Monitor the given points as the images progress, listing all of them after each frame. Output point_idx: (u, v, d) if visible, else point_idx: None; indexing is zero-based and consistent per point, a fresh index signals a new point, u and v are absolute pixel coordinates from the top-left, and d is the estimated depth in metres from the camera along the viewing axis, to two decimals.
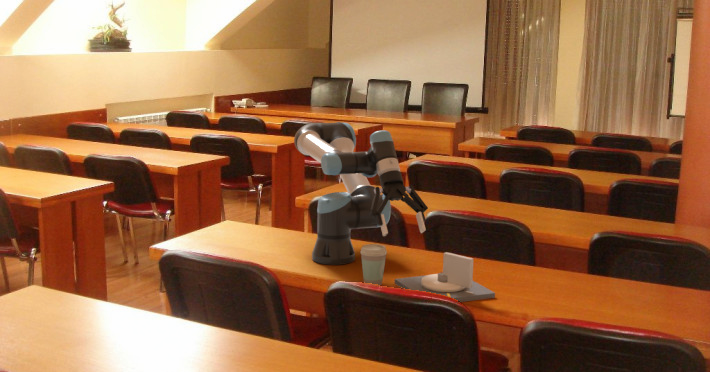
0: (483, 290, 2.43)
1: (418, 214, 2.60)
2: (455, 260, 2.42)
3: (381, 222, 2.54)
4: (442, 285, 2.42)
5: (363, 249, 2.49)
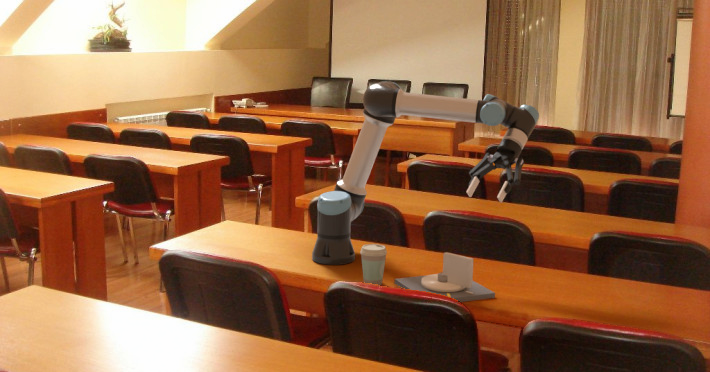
0: (483, 290, 2.43)
1: (477, 181, 2.61)
2: (455, 260, 2.42)
3: None
4: (442, 285, 2.42)
5: (363, 249, 2.49)
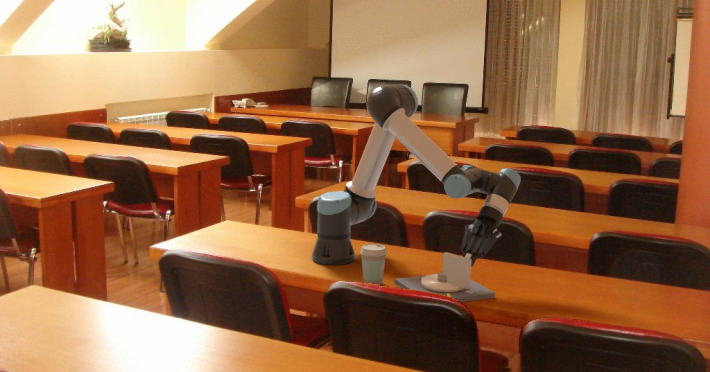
0: (483, 290, 2.43)
1: None
2: (454, 261, 2.41)
3: None
4: (440, 285, 2.42)
5: (363, 249, 2.49)
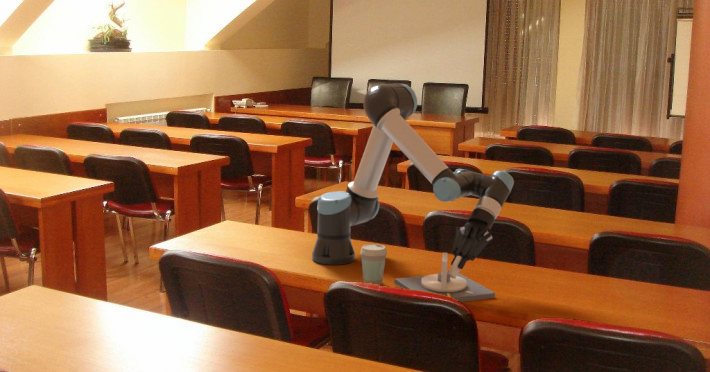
0: (483, 290, 2.43)
1: None
2: None
3: None
4: (429, 282, 2.45)
5: (363, 249, 2.49)
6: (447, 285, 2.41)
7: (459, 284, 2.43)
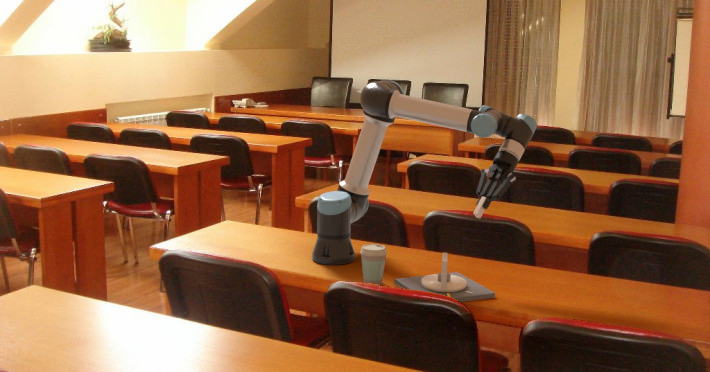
0: (483, 290, 2.43)
1: None
2: None
3: None
4: (429, 282, 2.45)
5: (363, 249, 2.49)
6: (447, 285, 2.41)
7: (459, 284, 2.43)
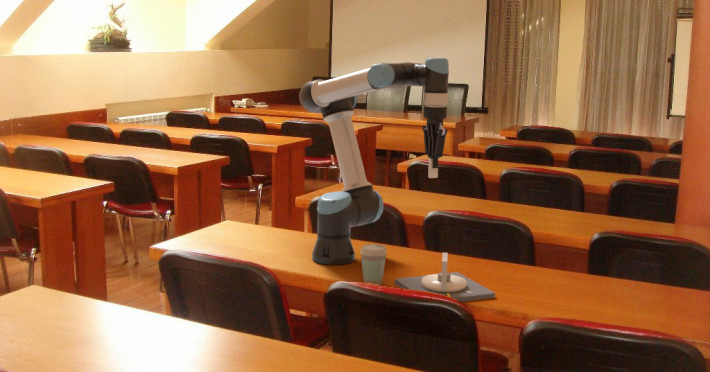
0: (483, 290, 2.43)
1: None
2: None
3: None
4: (429, 282, 2.45)
5: (363, 249, 2.49)
6: (447, 285, 2.41)
7: (459, 284, 2.43)
